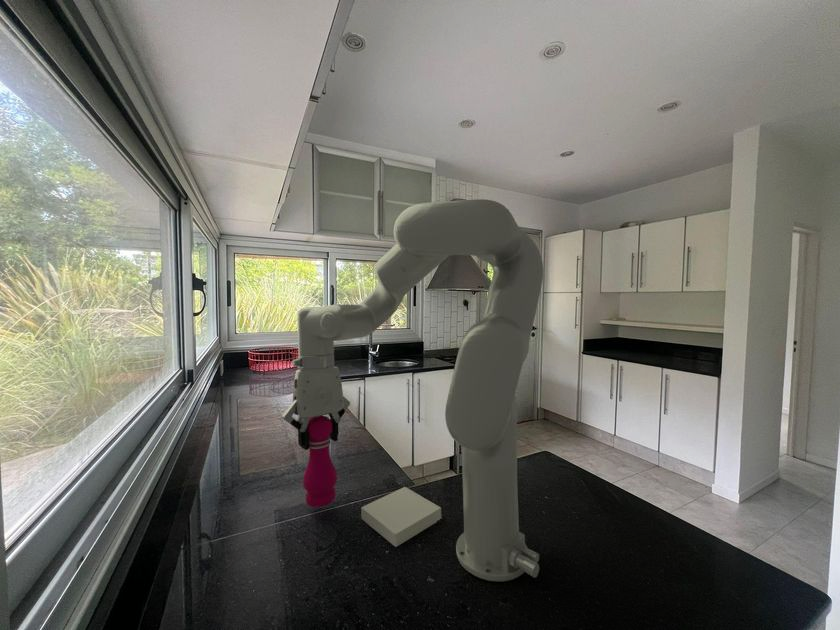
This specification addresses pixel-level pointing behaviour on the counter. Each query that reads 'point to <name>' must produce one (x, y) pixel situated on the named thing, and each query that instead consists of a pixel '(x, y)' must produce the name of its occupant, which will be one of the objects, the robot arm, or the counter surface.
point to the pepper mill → (319, 464)
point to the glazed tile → (400, 515)
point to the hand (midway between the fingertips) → (319, 443)
